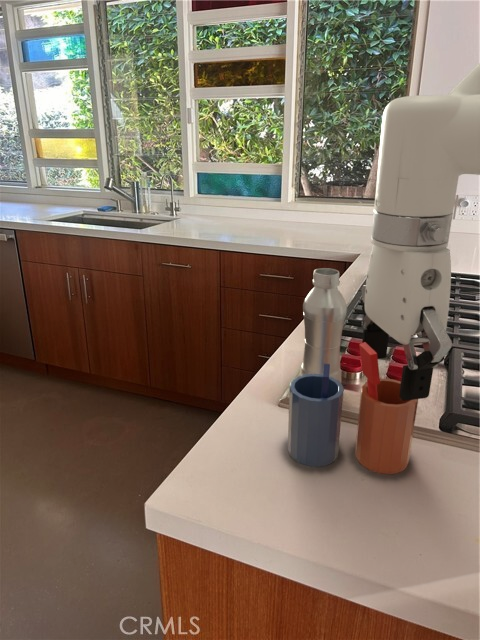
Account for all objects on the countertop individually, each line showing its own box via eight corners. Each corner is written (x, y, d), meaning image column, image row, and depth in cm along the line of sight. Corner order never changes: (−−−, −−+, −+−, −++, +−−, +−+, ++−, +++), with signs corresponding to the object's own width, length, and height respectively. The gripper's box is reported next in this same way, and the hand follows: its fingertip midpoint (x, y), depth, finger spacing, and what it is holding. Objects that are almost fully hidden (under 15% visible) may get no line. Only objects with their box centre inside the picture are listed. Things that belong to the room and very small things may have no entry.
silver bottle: (320, 378, 78) (326, 262, 70) (349, 395, 73) (360, 273, 65) (290, 389, 75) (293, 269, 67) (318, 408, 69) (325, 281, 62)
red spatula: (378, 447, 60) (366, 341, 53) (389, 463, 57) (378, 353, 50) (371, 450, 60) (357, 343, 53) (382, 465, 57) (369, 355, 50)
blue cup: (327, 435, 63) (331, 371, 60) (345, 466, 58) (351, 397, 54) (282, 441, 62) (283, 376, 58) (296, 473, 56) (299, 403, 53)
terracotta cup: (391, 441, 62) (400, 376, 58) (417, 473, 56) (429, 403, 52) (346, 447, 61) (352, 381, 57) (368, 481, 55) (376, 410, 51)
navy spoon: (325, 440, 61) (330, 363, 54) (324, 454, 59) (330, 377, 52) (318, 439, 61) (323, 363, 54) (317, 453, 59) (321, 376, 52)
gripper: (502, 246, 40) (468, 414, 47) (401, 213, 56) (386, 342, 62) (423, 252, 39) (399, 423, 45) (342, 216, 55) (333, 348, 61)
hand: (392, 376), depth 54 cm, fingers open, 9 cm apart
